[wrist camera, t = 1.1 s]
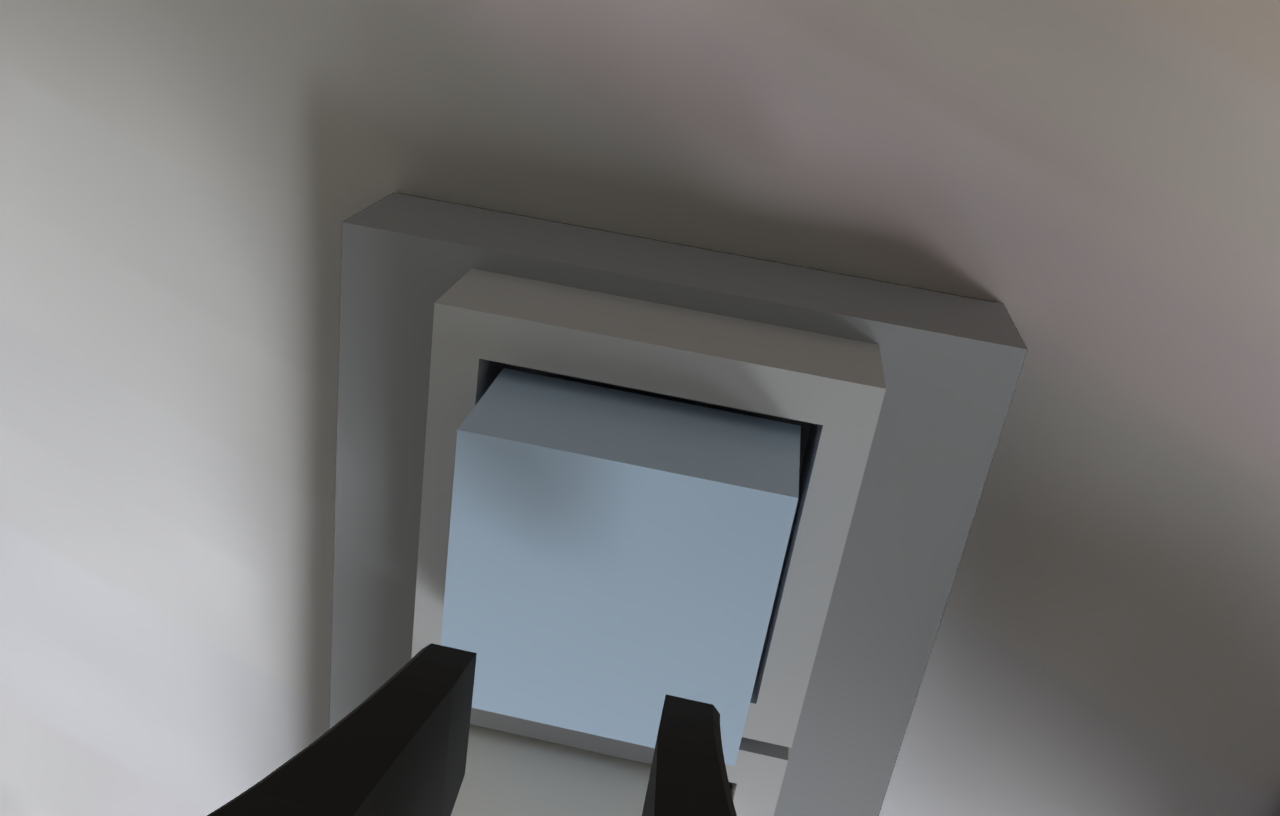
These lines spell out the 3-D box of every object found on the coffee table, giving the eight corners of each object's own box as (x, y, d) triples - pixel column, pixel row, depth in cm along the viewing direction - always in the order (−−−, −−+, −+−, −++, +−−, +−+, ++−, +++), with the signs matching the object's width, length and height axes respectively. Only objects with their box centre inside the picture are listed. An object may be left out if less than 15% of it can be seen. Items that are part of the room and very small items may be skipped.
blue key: (800, 425, 17) (798, 497, 15) (744, 669, 19) (735, 766, 17) (503, 367, 18) (457, 430, 15) (480, 613, 20) (436, 699, 17)
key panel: (1003, 304, 20) (1051, 395, 16) (768, 1077, 29) (761, 1259, 25) (394, 192, 21) (290, 250, 17) (357, 976, 30) (286, 1136, 26)
